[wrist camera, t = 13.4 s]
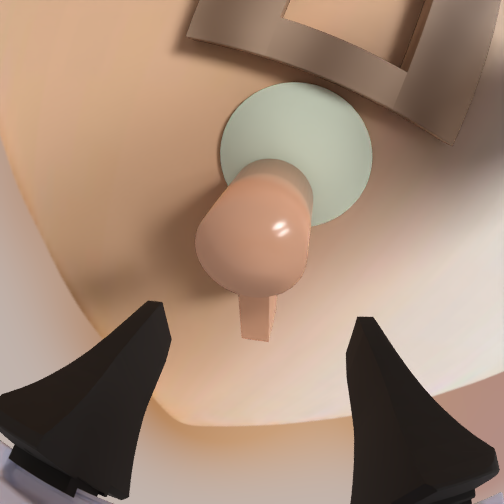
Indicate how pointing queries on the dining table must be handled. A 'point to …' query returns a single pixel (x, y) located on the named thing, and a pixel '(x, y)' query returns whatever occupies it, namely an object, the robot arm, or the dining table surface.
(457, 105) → the walnut stand
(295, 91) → the sage mat
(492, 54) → the dining table surface
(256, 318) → the peach rounded piece
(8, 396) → the robot arm
